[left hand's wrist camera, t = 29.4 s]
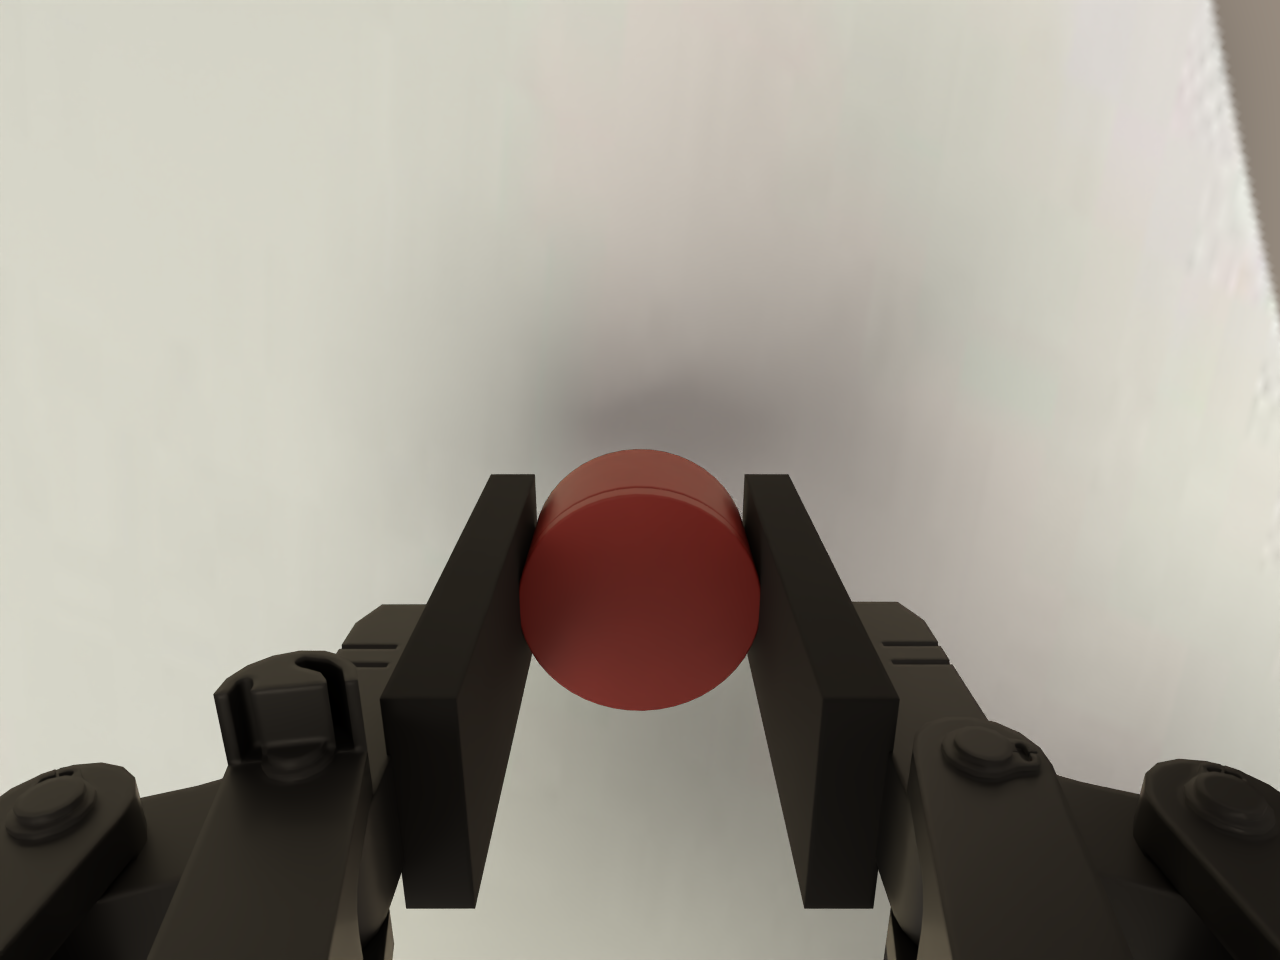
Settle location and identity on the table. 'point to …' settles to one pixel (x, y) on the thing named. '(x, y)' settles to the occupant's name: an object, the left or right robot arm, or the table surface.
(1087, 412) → the table surface
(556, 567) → the cap
